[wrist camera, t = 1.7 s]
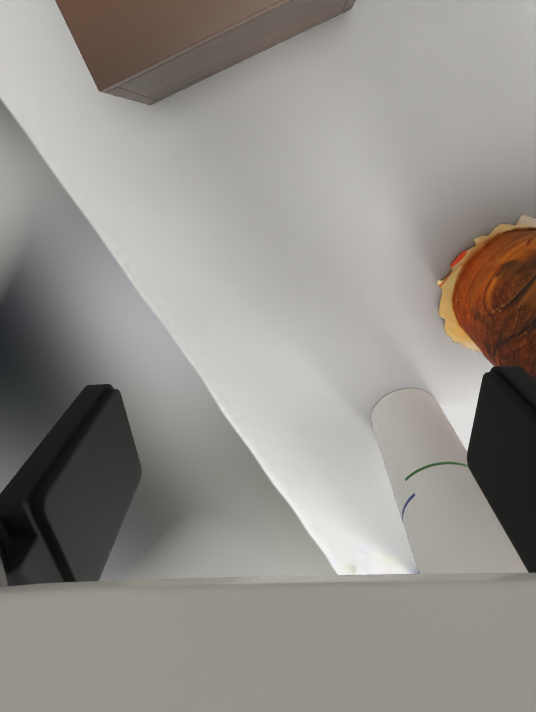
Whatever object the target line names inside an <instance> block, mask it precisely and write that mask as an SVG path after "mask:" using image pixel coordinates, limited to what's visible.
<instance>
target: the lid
mask: <svg viewBox="0 0 536 712" xmlns="http://www.w3.org/2000/svg"><path fill="white" fill-rule="evenodd" d="M55 1H56V3H57V5H58V7H59V9H60V11H61V13H62V15H63V17H64V19H65V21H66V24H67V26H68V28H69V30H70V32H71V34H72V36H73V38H74V40H75V42H76V44H77V46H78V48H79V50H80V53H81V55H82V57H83V59H84V61H85V63H86V65H87V67H88V69H89V71H90V73H91V75H92V77H93V80H94V82H95V84H96V86H97V88H98V90H99V91H100V92H104V93H106V92H108V91H110V90H112V89H114V88H116V87H118V86H120V85H122V84H124V83H126V82H128V81H130V80H132V79H134V78H136V77H138V76H140V75H142V74H144V73H146V72H148V71H150V70H152V69H154V68H156V67H158V66H160V65H162V64H164V63H166V62H168V61H170V60H172V59H174V58H176V57H178V56H180V55H182V54H184V53H186V52H188V51H190V50H192V49H194V48H196V47H198V46H200V45H202V44H204V43H206V42H208V41H210V40H212V39H214V38H216V37H218V36H220V35H222V34H224V33H226V32H228V31H230V30H232V29H234V28H236V27H238V26H240V25H242V24H244V23H246V22H248V21H250V20H252V19H254V18H256V17H258V16H260V15H262V14H264V13H266V12H268V11H271V10H273V9H275V8H277V7H279V6H281V5H283V4H285V3H287V2H289V1H291V0H55Z"/></svg>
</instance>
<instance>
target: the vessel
mask: <svg viewBox="0 0 536 712" xmlns="http://www.w3.org/2000/svg"><path fill="white" fill-rule="evenodd" d="M474 241H475V244H476V245H475V246H474V247H472V248H470V249H468V250H466V251H464V252H461V254H460V255H459V256H458V257H457V258H456V259H455V261H454V262H453V263H452V264H451V265H450V267H451V269H452V271H451V272H450V274H449V275H448V276H447V277H446V278H445V279H444V280H442V281H441V280H439V279H438V281H437V282H436V283H437V284H438V285H439V287H440V288H441V290H442V291H443V292H442V296H441V301H440V306H439V315H440V316H441V317H442V318H443V319H445V320H446V321H445V325H444V328H445V332H446V334H447V335H448V336H450V337H451V339H452V341H453V342H456V343H461V344H462V345H463V346H464V347H466V348H467V349H471V350H475V351H476V352H482V353H483V355H484V356H485V357H486V358H487V359H488V360H489V361H490V362H491V363H492V364H493V365H494V366H514V365H518V366H521V367H522V368H523V369H525V370H526V371H527V372H528V373H529V374H530V375H531V376H532V377H533V378H534V379H535V380H536V218H533V217H530V216H528V215H525V214H523V215H522V216H521V217H520V218H519V220H518V221H517V223H516V225H510V224H499V225H498V226H497V227H496V228H494V229H493V231H492V232H491V233H490V234H489V235H488V236H480V237H478V238H476V239H474Z"/></svg>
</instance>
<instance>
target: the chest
mask: <svg viewBox="0 0 536 712" xmlns="http://www.w3.org/2000/svg"><path fill="white" fill-rule="evenodd" d="M355 1H356V0H291V1H289V2H287V3H285V4H283V5H281V6H279V7H277V8H275V9H273V10H271V11H268V12H266V13H264V14H262V15H260V16H258V17H256V18H254V19H252V20H250V21H248V22H246V23H244V24H242V25H240V26H238V27H236V28H234V29H232V30H230V31H228V32H226V33H224V34H222V35H220V36H218V37H216V38H214V39H212V40H210V41H208V42H206V43H204V44H202V45H200V46H198V47H196V48H194V49H192V50H190V51H188V52H186V53H184V54H182V55H180V56H178V57H176V58H174V59H172V60H170V61H168V62H166V63H164V64H162V65H160V66H158V67H156V68H154V69H152V70H150V71H148V72H146V73H144V74H142V75H140V76H138V77H136V78H134V79H132V80H130V81H128V82H126V83H124V84H122V85H120V86H118V87H116V88H114V89H112V90H110V91H108V92H106V93H108V94H112V95H115V96H119V97H123V98H126V99H130V100H134V101H137V102H141V103H145V104H148V105H151V104H153V103H155V102H157V101H160V100H162V99H164V98H166V97H168V96H170V95H172V94H174V93H176V92H178V91H180V90H182V89H185V88H187V87H189V86H191V85H193V84H195V83H197V82H199V81H201V80H203V79H205V78H208V77H210V76H212V75H214V74H216V73H218V72H220V71H222V70H224V69H226V68H228V67H231V66H233V65H235V64H237V63H239V62H241V61H243V60H245V59H247V58H249V57H251V56H254V55H256V54H258V53H260V52H262V51H264V50H266V49H268V48H270V47H272V46H274V45H276V44H279V43H281V42H283V41H285V40H287V39H289V38H291V37H293V36H295V35H297V34H299V33H302V32H304V31H306V30H308V29H310V28H312V27H314V26H316V25H318V24H320V23H322V22H325V21H327V20H329V19H331V18H333V17H335V16H337V15H339V14H341V13H343V12H345V11H348V10H350V9H351V8H352V7H353V4H354V2H355Z"/></svg>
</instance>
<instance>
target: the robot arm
mask: <svg viewBox="0 0 536 712" xmlns="http://www.w3.org/2000/svg"><path fill="white" fill-rule="evenodd" d="M467 464H468V467H469V470H470V472H471V473H472V475H473V477H474V479H475V480H476V482H477V484H478V486H479V487H480V489H481V491H482V492H483V494H484V496H485V498H486V499H487V501H488V503H489V505H490V506H491V508H492V510H493V512H494V513H495V515H496V517H497V519H498V520H499V522H500V524H501V526H502V527H503V529H504V531H505V533H506V534H507V536H508V538H509V539H510V541H511V543H512V545H513V546H514V548H515V550H516V552H517V553H518V555H519V557H520V559H521V560H522V562H523V564H524V566H525V567H526V569H527V571H528V573H456V574H381V575H324V576H273V577H226V578H186V579H185V578H184V579H141V580H109V581H99V579H100V577H101V574H102V572H103V569H104V567H105V564H106V562H107V560H108V557H109V554H110V552H111V550H112V547H113V545H114V543H115V540H116V538H117V535H118V533H119V531H120V528H121V525H122V523H123V521H124V518H125V516H126V513H127V511H128V509H129V506H130V504H131V501H132V499H133V497H134V494H135V492H136V489H137V487H138V484H139V482H140V479H141V464H140V461H139V457H138V454H137V450H136V446H135V443H134V440H133V436H132V432H131V429H130V425H129V422H128V418H127V414H126V411H125V407H124V404H123V400H122V397H121V393H120V391H119V390H118V389H114V388H113V387H112V385H110V384H102V385H101V384H100V385H87V386H86V387H85V388H84V389H83V391H82V392H81V393H80V394H79V396H78V397H77V398H76V399H75V400H74V402H73V403H72V404H71V405H70V407H69V408H68V409H67V410H66V412H65V413H64V414H63V415H62V417H61V418H60V419H59V421H58V422H57V423H56V425H55V426H54V427H53V428H52V429H51V431H50V432H49V433H48V434H47V436H46V437H45V438H44V440H43V441H42V442H41V443H40V445H39V446H38V447H37V448H36V450H35V451H34V452H33V453H32V455H31V456H30V457H29V458H28V460H27V461H26V462H25V463H24V465H23V466H22V467H21V469H20V470H19V471H18V472H17V474H16V475H15V476H14V477H13V479H12V480H11V481H10V482H9V484H8V485H7V486H6V487H5V489H4V490H3V491H2V492H1V494H0V712H536V380H535V379H534V378H533V377H532V376H531V375H530V374H529V373H528V372H527V371H526V370H525V369H523V368H522V367H521V366H518V365H514V366H494V367H493V368H492V369H491V370H490V372H487V373H485V374H484V375H483V378H482V383H481V388H480V393H479V398H478V403H477V408H476V413H475V418H474V423H473V428H472V432H471V437H470V442H469V447H468V452H467Z"/></svg>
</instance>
